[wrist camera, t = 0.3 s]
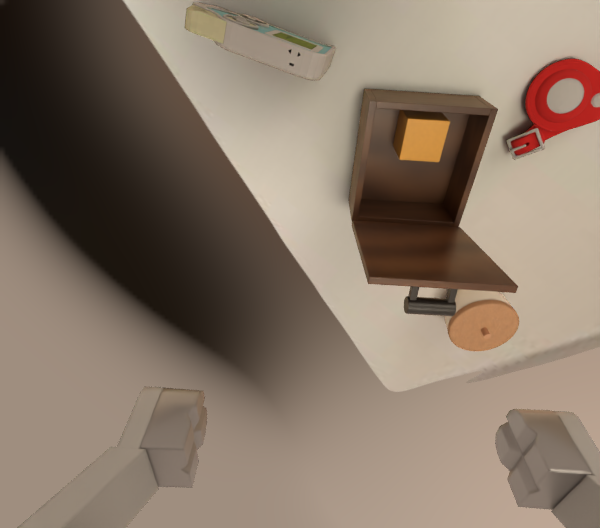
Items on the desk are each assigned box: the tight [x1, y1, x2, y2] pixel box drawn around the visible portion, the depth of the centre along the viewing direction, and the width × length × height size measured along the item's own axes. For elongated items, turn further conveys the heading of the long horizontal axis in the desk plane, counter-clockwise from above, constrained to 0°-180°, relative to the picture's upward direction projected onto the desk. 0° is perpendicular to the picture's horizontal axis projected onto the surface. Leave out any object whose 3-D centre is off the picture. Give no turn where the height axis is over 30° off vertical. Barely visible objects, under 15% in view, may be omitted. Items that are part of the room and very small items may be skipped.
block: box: [393, 110, 450, 162], centre depth 49 cm, size 5×5×5 cm
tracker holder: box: [507, 59, 600, 160], centre depth 49 cm, size 12×4×10 cm
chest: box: [349, 89, 498, 227], centre depth 51 cm, size 16×15×6 cm
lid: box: [352, 221, 518, 316], centre depth 46 cm, size 16×15×5 cm
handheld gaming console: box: [185, 3, 336, 80], centre depth 42 cm, size 11×3×15 cm
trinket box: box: [445, 289, 519, 351], centre depth 65 cm, size 11×11×9 cm
